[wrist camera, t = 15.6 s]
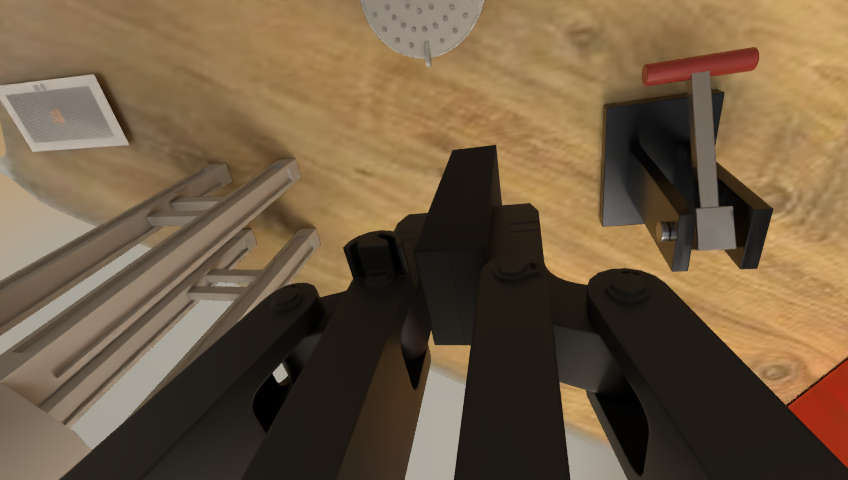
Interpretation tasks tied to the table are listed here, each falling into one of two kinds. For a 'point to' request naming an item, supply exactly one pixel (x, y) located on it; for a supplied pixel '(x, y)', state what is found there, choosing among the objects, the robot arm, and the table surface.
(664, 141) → the tap mount
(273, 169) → the stool
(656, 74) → the tap lever
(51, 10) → the table surface
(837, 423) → the file binder
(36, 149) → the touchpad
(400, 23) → the showerhead
